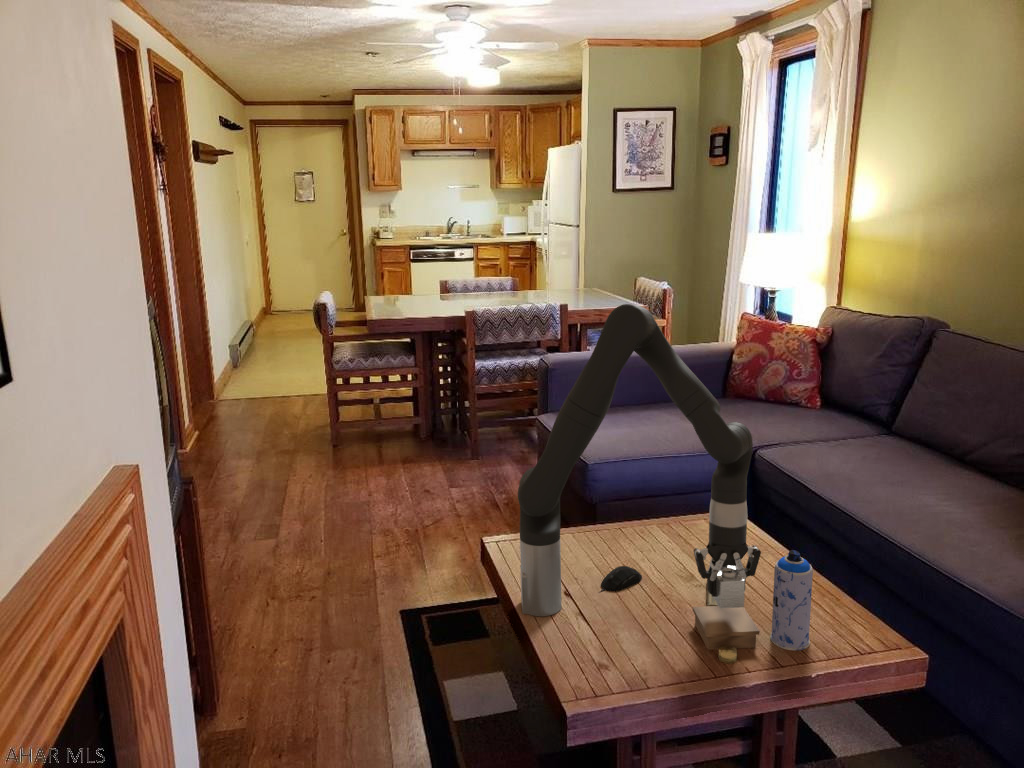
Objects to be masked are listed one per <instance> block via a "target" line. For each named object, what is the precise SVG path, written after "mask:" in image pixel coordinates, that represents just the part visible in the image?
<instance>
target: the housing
mask: <svg viewBox="0 0 1024 768" xmlns="http://www.w3.org/2000/svg"><path fill="white" fill-rule="evenodd" d="M708 566H710V563H709V565H708ZM715 580H716V597H713V598H714V599H715V601H716V603H717V604H718V606H719V608H738V607H744V608H745V592H744V591H746V581H745V580H744V579H743V577H742V576H741V574H739V572H738V570H736V568H735V566H730V565H727V566H722V567H721V570H720V572H718V574H717V577H716V579H715Z"/></svg>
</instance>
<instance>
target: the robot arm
mask: <svg viewBox="0 0 1024 768" xmlns="http://www.w3.org/2000/svg"><path fill="white" fill-rule="evenodd" d="M652 314H653V313H651V312H650V311H649V310H648V309H647V308H645V307H644V306H641V305H637V304H632V303H623V304H620V305H618V306H617V307H615V308H613V310H612V311H611V312H610V313H609V314H608V316H607V318H606V320H605V322H604V325H603V327H602V329H601V333H600V335H599V337H598V339H597V342H596V344H595V347H594V349H593V351H592V353H591V356H590V358H589V359H588V361H587V363H586V364H585V365H584V367H583V369H582V370H581V372H580V373H579V375H578V377H577V379H576V380H575V383H574V384H573V386H572V387H571V389H570V391H569V392H568V394H567V397H566V398H565V400H564V402H563V404H562V406H561V407H560V409H559V411H558V413H557V416H556V418H555V421H554V423H553V426H552V427H551V430H550V433H549V435H548V436H549V437H548V438H547V443H546V445H545V448H544V450H543V452H542V454H541V456H540V458H539V459H538V461H537V462H536V464H535V465H534V466H532V467H530V468H528V469H527V470H526V471H524V473H523V474H522V475H521V478H520V480H519V484H518V489H517V500H518V505H519V549H520V550H519V551H520V552H519V553H520V565H519V568H520V573H519V574H520V598H521V599H520V601H521V611H522V614H523V615H530V616H535V617H548V616H552V615H555V614H557V613H559V612H560V611H561V609H562V599H563V598H562V561H561V560H562V558H561V557H562V556H561V550H562V549H561V548H562V547H561V496H562V493H563V490H564V489H565V485H566V483H567V482H568V479H569V477H570V475H571V473H572V471H573V469H574V467H575V466H576V464H577V462H578V461H579V459H580V458H581V456H582V455H583V453H584V452H585V451H586V449H587V447H588V445H590V443H591V441H592V440H593V437H594V436H595V434H596V433H597V431H598V430H599V428H600V426H601V425H602V422H603V421H604V419H605V417H606V415H607V413H608V411H609V409H610V406H611V404H612V401H613V397H614V394H615V391H616V386H617V383H618V379H619V377H620V374H621V372H622V370H623V368H624V367H625V365H626V364H627V362H628V361H629V359H630V358H631V356H632V354H633V353H636V354H637V355H638V356H639V357H640V358H641V359H642V360H643V361H644V362H646V364H647V365H648V366H649V368H651V370H652V371H653V373H654V374H655V375H656V377H657V378H658V380H659V381H660V384H661V385H662V387H663V388H664V390H665V392H666V394H667V395H668V396H669V398H670V399H671V400H672V402H673V403H674V405H675V406H676V407H677V408H678V409H679V412H680V413H682V414H683V415H684V418H686V419H687V420H688V422H690V424H691V425H692V426H693V429H694V431H695V434H696V436H697V437H698V439H699V441H700V442H701V444H702V446H703V447H704V449H705V450H706V452H707V453H708V454H709V455H710V457H712V458H713V459H714V460H715V461H717V465H716V468H715V470H714V471H713V473H712V477H711V487H710V489H711V491H710V495H711V496H710V503H709V516H708V517H709V519H708V520H709V521H708V522H709V523H708V524H709V525H708V527H709V528H708V543H707V545H706V547H705V548H701V549H700V548H697V547H696V548H694V549H693V555H694V559H695V565H696V568H697V571H698V574H699V575H700V576H701V577H700V578H702V579H703V580H704V579H706V585H707V586H706V591H707V590H708V592H709V593H710V594H711V595H712V597H716V580H715V579H716V577H717V574H718V572H720V570H721V567H722V566H727V565H730V566H735V568H736V570H738V572H739V574H741V576H742V577H743V579H744V580H745V582H746V580H747V578H748V577H754V576H755V574H756V571H757V570H758V569H757V568H758V565H759V560H760V557H761V554H762V552H761V550H760V549H759V547H758V546H757V545H752V546H751V545H747V534H748V533H747V529H748V526H747V525H748V518H749V517H748V505H747V494H748V493H747V492H748V491H747V489H748V488H747V487H748V486H747V485H748V480H747V478H748V473H749V469H750V466H751V460H752V455H753V447H754V446H753V445H754V443H753V437H752V433H751V431H750V429H749V428H748V427H747V426H746V425H744V424H743V423H740V422H736V421H734V422H733V421H732V422H728V423H726V422H725V419H724V418H723V417H722V416H721V414H720V411H721V409H722V408H721V405H720V403H719V401H718V400H717V399H716V397H715V396H714V395H713V394H712V393H711V392H710V390H709V389H708V388H707V387H706V386H705V385H704V383H703V382H702V381H701V380H700V379H699V377H697V375H696V374H695V373H694V372H693V371H692V370H691V369H690V368H689V366H688V365H687V364H686V363H685V362H684V361H683V359H682V358H681V357H680V356H679V355H678V353H677V352H676V350H675V349H674V348H673V346H672V345H671V344H670V342H669V340H668V339H667V338H666V337H665V335H664V333H663V331H662V329H661V328H660V326H659V325H658V323H657V320H656V319H655V318H654V316H653V315H652ZM708 554H709V556H710V557H711V559H710V560H709V564H710V566H709V565H708V566H709V567H708V568H706V565H705V561H706V559H707V556H708ZM745 555H748V558H747V561H746V566H745V567H744V565H743V562H742V559H744V557H745ZM745 591H746V590H745ZM745 591H744V593H745Z"/></svg>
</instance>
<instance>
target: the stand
mask: <svg viewBox="0 0 1024 768" xmlns="http://www.w3.org/2000/svg"><path fill="white" fill-rule="evenodd" d="M692 612H693V614H694V616H695V617H694V625H695V628H696V629H697V631H698V633H699V636H700V637H701V639H702V640H703V643H704V645H705V647H706V648H707V650H708V651H709V650H710V651H711V650H719V647H721V646H724V645H728V646H732V647H734V648H736V649H744V648H746V649H747V648H756V647H757V635H758V636H759V635H761V634H760V632H761V631H760V630H759V628H758V626H757V625H756V622H754V620H753V619H752V617H751V616H750V615H749V613H748V611H747V610H746V609H745V606H744V607H738V608H719V606H707V605H706V606H692Z"/></svg>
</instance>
